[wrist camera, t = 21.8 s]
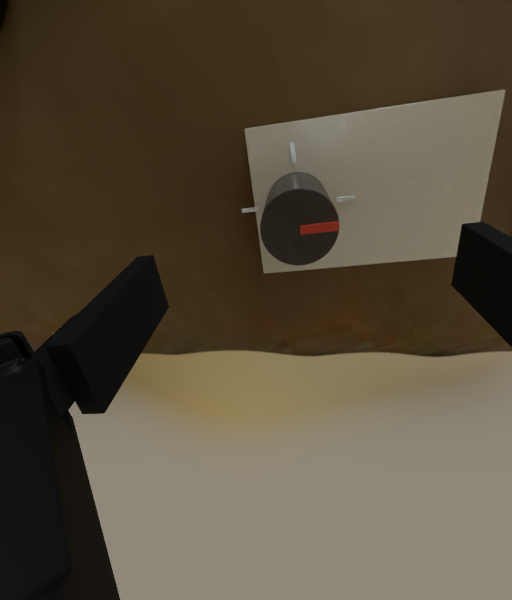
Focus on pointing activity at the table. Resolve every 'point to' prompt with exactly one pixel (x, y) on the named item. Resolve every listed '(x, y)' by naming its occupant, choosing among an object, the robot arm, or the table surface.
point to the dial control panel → (385, 175)
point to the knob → (299, 220)
